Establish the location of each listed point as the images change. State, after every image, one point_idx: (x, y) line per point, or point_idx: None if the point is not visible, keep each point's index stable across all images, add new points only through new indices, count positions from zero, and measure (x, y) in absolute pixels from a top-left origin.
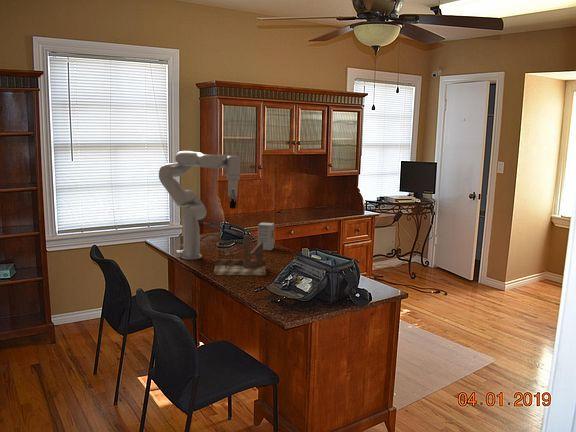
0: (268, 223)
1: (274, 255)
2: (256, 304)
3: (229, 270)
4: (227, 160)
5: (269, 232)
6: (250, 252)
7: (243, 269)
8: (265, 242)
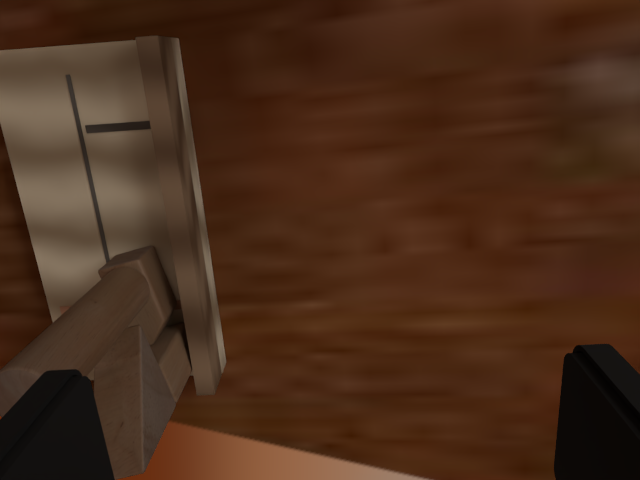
0: None
1: (550, 410)
2: None
3: (34, 162)
4: None
5: None
6: (134, 336)
7: (81, 252)
8: None
